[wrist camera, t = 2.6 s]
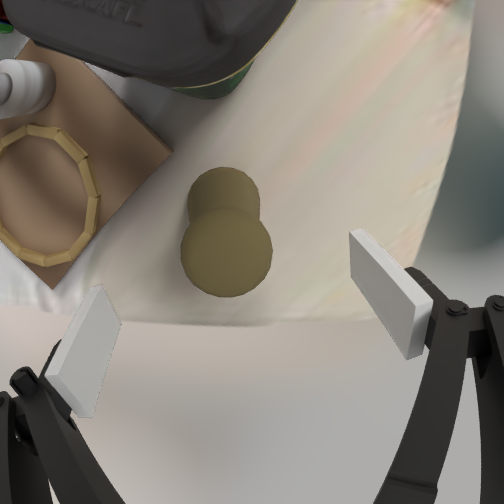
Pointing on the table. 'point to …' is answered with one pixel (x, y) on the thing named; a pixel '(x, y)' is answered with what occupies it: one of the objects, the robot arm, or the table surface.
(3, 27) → the motor
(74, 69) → the carrier board
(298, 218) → the table surface
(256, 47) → the coffee jar
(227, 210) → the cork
